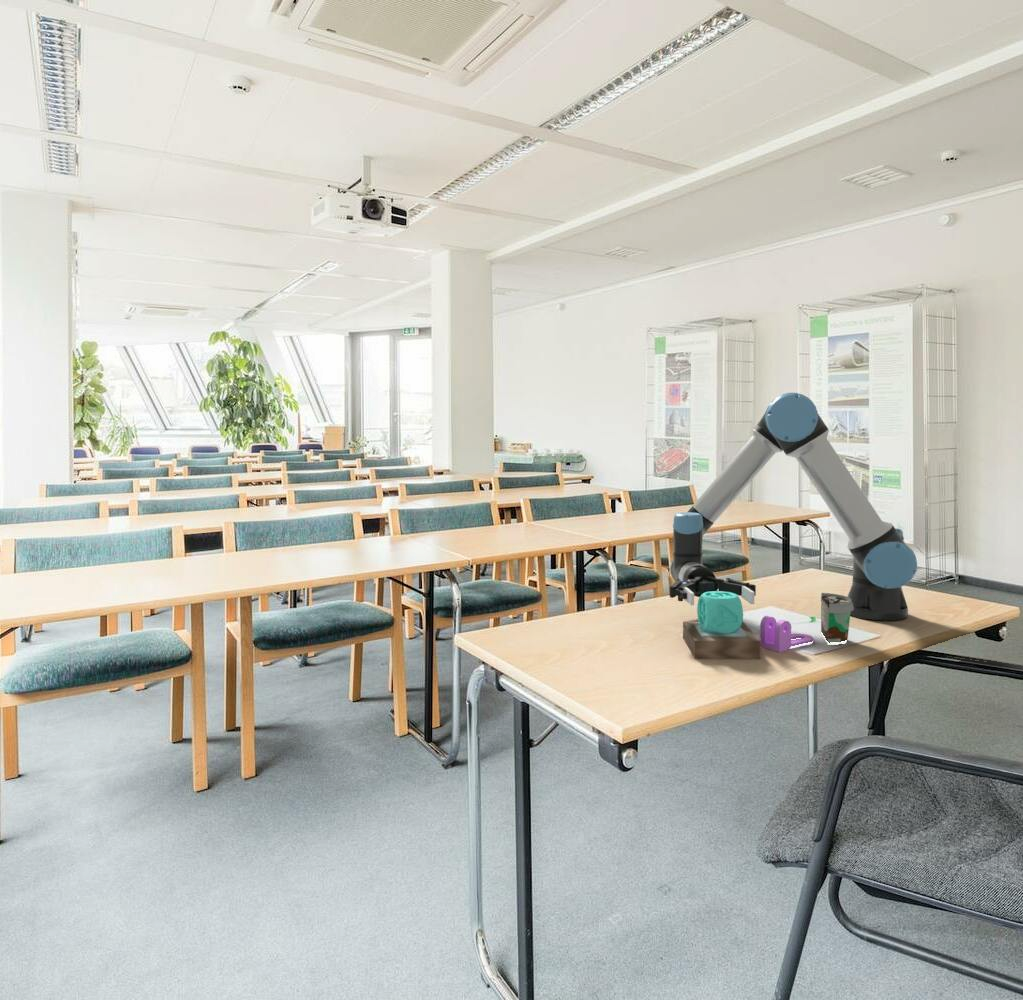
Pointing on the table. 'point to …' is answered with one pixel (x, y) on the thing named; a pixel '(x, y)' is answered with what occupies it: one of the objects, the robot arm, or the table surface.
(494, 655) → the table surface
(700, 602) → the decorative dice
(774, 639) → the bracket
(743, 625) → the plinth
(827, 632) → the food container
